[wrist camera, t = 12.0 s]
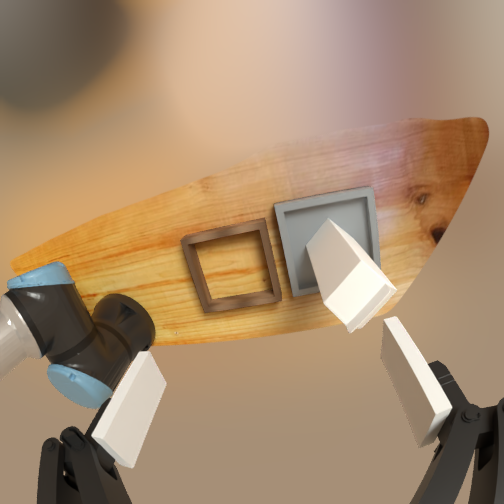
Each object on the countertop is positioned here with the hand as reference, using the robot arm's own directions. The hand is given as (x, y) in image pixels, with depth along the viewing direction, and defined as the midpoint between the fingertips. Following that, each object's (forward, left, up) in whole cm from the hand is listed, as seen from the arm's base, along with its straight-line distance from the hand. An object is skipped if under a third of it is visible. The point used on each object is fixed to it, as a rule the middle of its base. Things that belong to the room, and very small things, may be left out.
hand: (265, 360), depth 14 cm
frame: (-8, -6, -33) cm, 35 cm away
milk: (+9, -5, -32) cm, 34 cm away
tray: (+9, -5, -33) cm, 34 cm away
